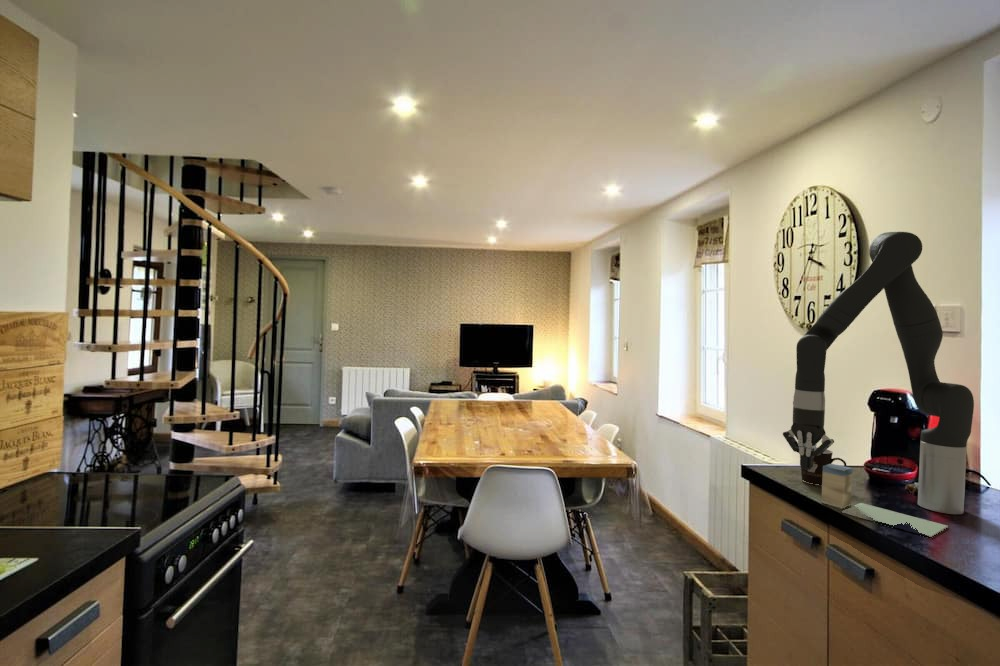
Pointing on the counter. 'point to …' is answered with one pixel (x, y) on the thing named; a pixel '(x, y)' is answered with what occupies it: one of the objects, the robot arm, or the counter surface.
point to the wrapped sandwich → (912, 487)
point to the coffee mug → (818, 467)
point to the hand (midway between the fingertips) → (806, 469)
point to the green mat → (900, 519)
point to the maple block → (836, 484)
